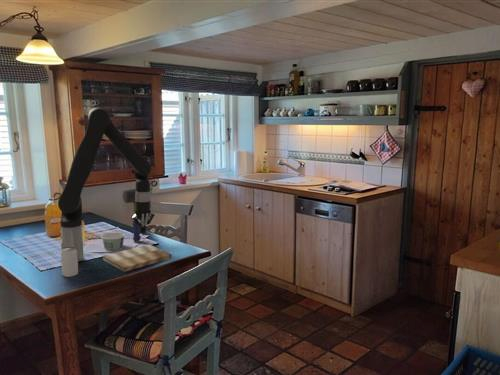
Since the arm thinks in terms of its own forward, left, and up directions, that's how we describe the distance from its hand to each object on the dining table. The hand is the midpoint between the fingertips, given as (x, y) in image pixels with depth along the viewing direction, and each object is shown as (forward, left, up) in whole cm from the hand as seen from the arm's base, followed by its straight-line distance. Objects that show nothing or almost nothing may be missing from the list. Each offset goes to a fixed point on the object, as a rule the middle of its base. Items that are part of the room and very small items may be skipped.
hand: (143, 232), depth 209 cm
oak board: (0, -15, -10) cm, 18 cm away
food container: (-15, +11, -10) cm, 21 cm away
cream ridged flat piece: (-6, -6, -10) cm, 13 cm away
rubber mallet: (-3, +18, -10) cm, 21 cm away
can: (-32, -23, -10) cm, 41 cm away
